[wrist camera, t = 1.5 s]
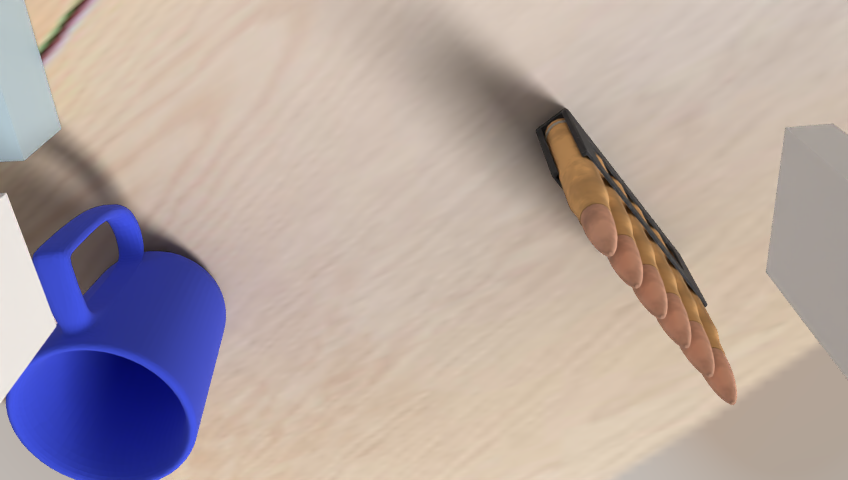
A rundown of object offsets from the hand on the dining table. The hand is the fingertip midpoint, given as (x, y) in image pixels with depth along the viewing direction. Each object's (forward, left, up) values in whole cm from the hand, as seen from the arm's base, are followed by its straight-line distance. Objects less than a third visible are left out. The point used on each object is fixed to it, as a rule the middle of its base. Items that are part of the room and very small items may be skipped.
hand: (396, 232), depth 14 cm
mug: (+14, -15, -24) cm, 32 cm away
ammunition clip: (+11, +9, -24) cm, 28 cm away
